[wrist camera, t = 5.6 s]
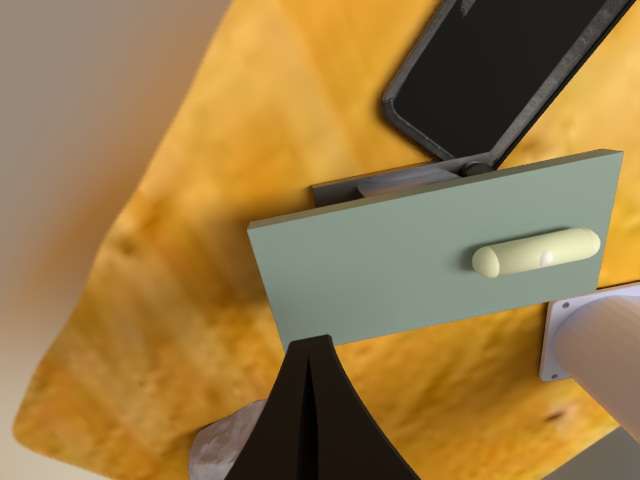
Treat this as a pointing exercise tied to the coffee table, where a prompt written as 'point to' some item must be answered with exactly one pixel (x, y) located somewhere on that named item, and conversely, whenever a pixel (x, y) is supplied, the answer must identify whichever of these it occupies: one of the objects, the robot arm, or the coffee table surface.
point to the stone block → (222, 443)
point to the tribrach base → (399, 179)
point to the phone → (492, 71)
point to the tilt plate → (439, 250)
